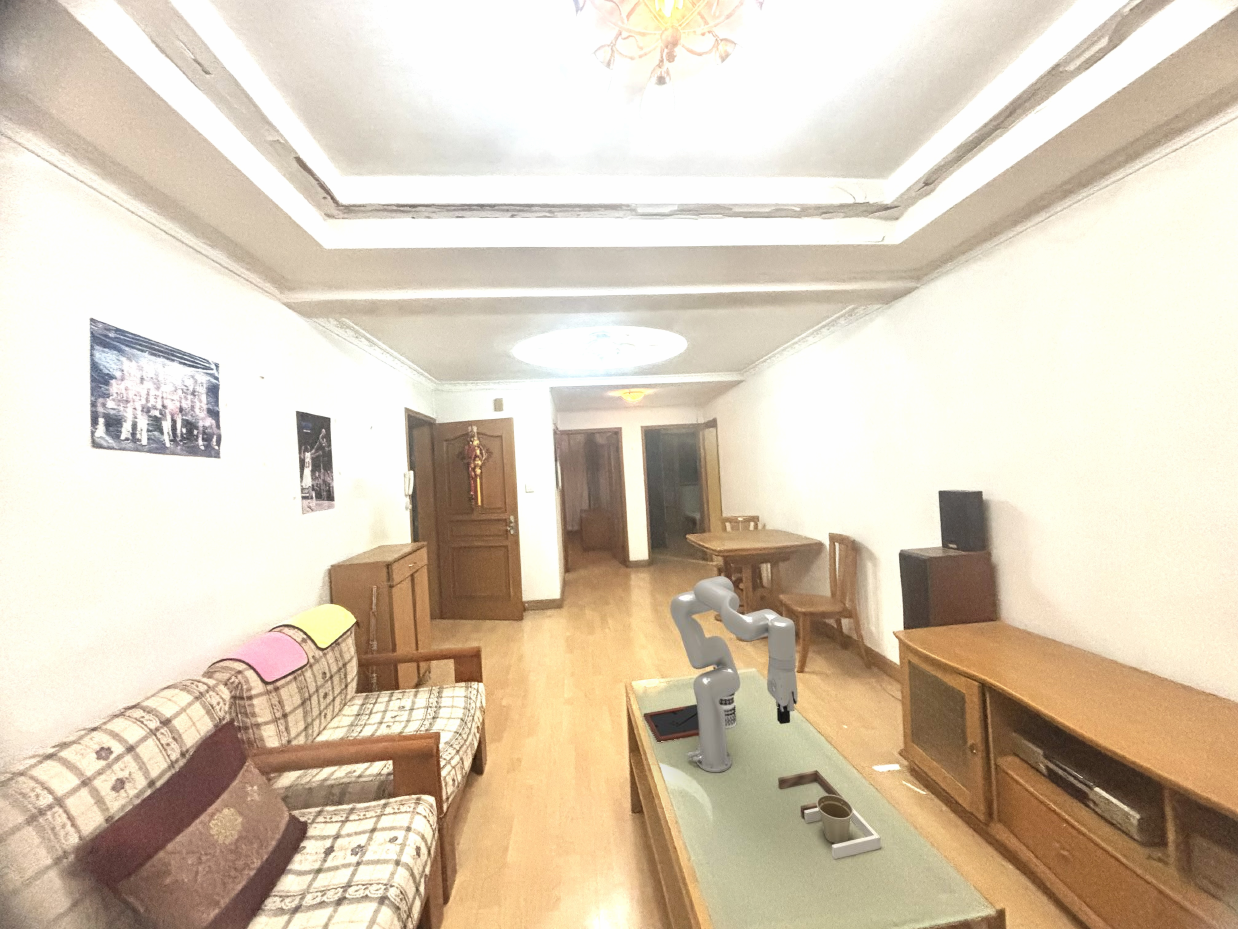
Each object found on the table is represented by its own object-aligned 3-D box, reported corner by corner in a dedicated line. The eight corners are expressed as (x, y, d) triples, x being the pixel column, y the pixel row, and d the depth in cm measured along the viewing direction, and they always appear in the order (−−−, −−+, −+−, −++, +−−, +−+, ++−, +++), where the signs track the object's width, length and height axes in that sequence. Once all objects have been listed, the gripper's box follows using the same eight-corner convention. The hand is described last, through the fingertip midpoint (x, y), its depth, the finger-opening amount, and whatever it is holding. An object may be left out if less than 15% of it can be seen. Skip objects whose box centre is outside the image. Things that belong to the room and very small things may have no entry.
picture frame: (699, 707, 209) (643, 717, 204) (698, 703, 209) (643, 713, 204) (718, 733, 190) (657, 744, 184) (718, 728, 190) (657, 739, 184)
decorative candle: (709, 720, 198) (706, 659, 198) (728, 714, 202) (724, 654, 201) (722, 731, 190) (719, 668, 189) (741, 724, 193) (738, 663, 193)
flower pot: (839, 855, 129) (838, 823, 129) (810, 832, 137) (809, 802, 137) (862, 840, 134) (860, 809, 134) (832, 819, 142) (831, 790, 142)
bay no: (802, 818, 143) (802, 808, 143) (778, 787, 157) (778, 778, 157) (844, 809, 145) (844, 799, 145) (817, 779, 159) (816, 770, 159)
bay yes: (834, 859, 128) (834, 848, 128) (804, 820, 142) (804, 810, 142) (880, 848, 131) (880, 837, 131) (847, 811, 144) (846, 801, 144)
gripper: (758, 651, 148) (760, 710, 149) (782, 674, 133) (784, 739, 134) (781, 649, 149) (782, 706, 150) (807, 671, 134) (809, 735, 135)
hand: (783, 721), depth 142 cm, fingers closed
